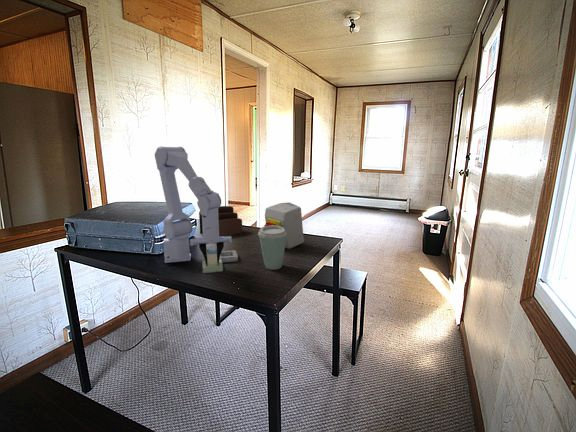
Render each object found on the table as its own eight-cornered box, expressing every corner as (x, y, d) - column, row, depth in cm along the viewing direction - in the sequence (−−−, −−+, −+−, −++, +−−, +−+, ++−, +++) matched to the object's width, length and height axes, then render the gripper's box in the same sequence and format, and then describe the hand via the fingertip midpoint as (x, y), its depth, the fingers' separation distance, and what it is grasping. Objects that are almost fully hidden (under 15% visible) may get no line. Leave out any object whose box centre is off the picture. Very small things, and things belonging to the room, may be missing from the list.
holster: (202, 273, 106) (202, 267, 106) (202, 265, 113) (202, 261, 112) (222, 271, 108) (222, 265, 108) (221, 264, 115) (221, 259, 114)
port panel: (206, 264, 114) (206, 258, 114) (206, 257, 122) (205, 251, 121) (237, 261, 118) (237, 255, 117) (235, 254, 125) (235, 249, 125)
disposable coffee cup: (292, 268, 111) (292, 229, 108) (265, 274, 106) (265, 233, 102) (278, 259, 120) (278, 223, 117) (254, 264, 115) (253, 226, 111)
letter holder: (199, 235, 154) (198, 208, 151) (233, 229, 167) (232, 204, 164) (208, 239, 147) (206, 211, 144) (242, 232, 159) (242, 207, 156)
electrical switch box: (260, 248, 140) (254, 208, 134) (284, 238, 149) (279, 200, 143) (280, 256, 130) (275, 213, 124) (304, 245, 139) (300, 204, 133)
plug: (207, 270, 108) (206, 252, 107) (207, 267, 111) (206, 249, 110) (217, 269, 109) (216, 251, 108) (217, 266, 112) (216, 248, 111)
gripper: (189, 230, 101) (191, 268, 104) (232, 228, 105) (233, 264, 108) (189, 225, 108) (191, 261, 111) (230, 223, 112) (231, 257, 115)
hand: (212, 262), depth 110 cm, fingers closed on plug, 3 cm apart
